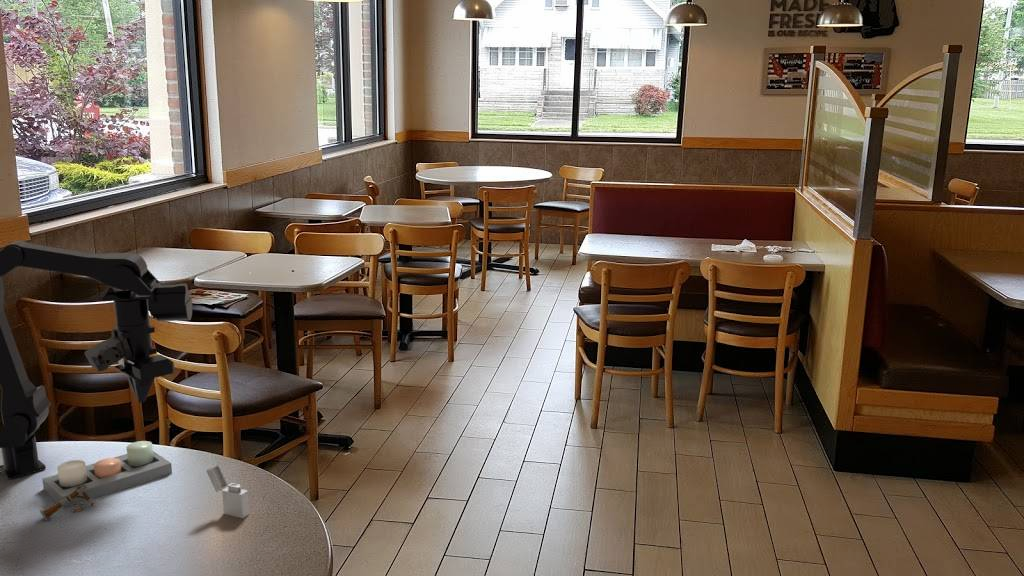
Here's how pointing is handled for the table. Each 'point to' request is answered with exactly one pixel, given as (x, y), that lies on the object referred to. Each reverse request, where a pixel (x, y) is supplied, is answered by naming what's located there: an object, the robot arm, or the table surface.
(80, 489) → the wooden post with brackets
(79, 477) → the cream button
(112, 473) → the terracotta button
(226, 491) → the lighter
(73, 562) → the table surface
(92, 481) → the button panel
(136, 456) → the sage button
